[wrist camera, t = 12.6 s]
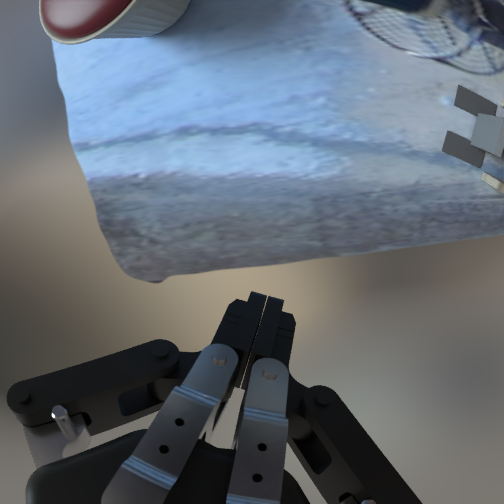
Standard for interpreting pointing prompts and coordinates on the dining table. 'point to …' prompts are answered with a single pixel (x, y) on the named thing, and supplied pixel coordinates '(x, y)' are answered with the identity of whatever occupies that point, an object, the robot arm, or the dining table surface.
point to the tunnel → (493, 181)
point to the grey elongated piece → (489, 134)
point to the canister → (107, 18)
